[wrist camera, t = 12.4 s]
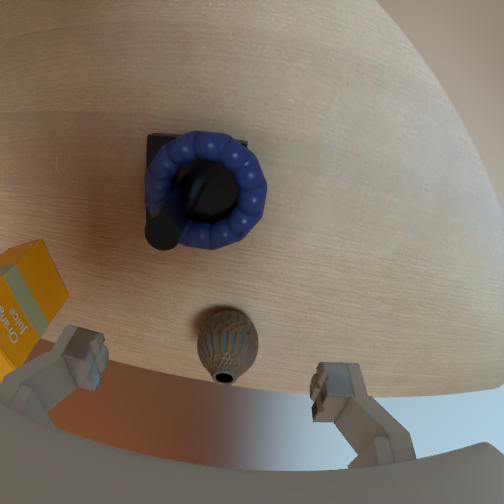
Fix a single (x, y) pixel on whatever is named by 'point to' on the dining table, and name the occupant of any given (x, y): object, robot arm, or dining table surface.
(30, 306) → the orange juice
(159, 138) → the black post stand
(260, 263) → the dining table surface
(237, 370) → the vase
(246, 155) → the ring
